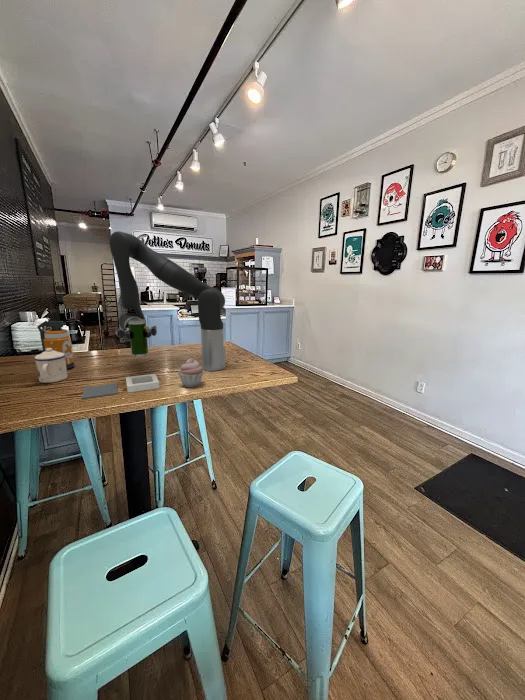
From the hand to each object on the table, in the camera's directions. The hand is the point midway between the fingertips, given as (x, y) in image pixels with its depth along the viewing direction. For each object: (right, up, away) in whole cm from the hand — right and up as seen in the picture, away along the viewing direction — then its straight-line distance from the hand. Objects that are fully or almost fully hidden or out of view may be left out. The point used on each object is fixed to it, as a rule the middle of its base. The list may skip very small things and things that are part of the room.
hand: (138, 335), depth 94 cm
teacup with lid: (-36, -16, +10) cm, 41 cm away
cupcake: (+15, -18, +9) cm, 25 cm away
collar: (-2, -17, +7) cm, 19 cm away
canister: (-43, -13, +24) cm, 51 cm away
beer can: (-1, -7, +4) cm, 8 cm away
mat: (-13, -19, +1) cm, 23 cm away
